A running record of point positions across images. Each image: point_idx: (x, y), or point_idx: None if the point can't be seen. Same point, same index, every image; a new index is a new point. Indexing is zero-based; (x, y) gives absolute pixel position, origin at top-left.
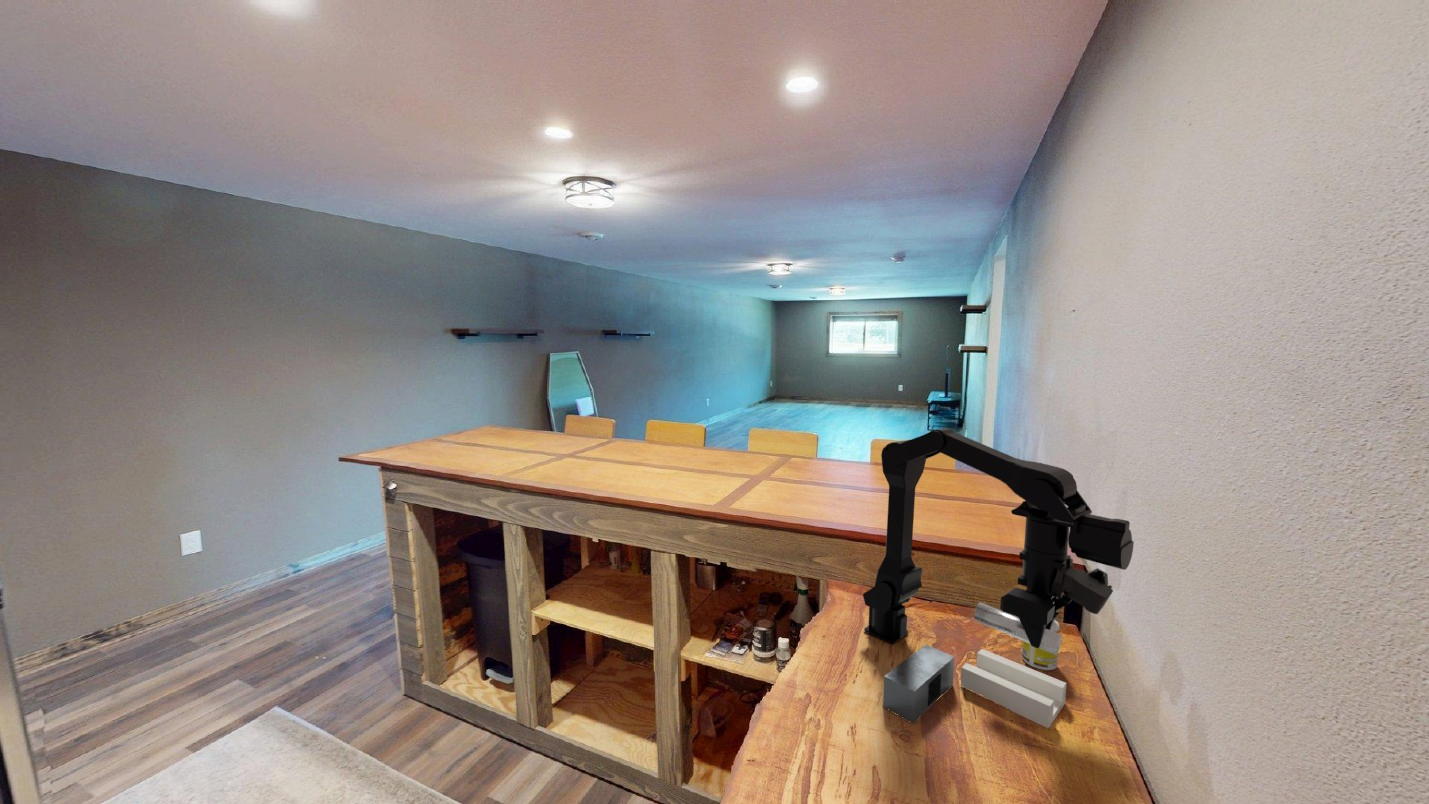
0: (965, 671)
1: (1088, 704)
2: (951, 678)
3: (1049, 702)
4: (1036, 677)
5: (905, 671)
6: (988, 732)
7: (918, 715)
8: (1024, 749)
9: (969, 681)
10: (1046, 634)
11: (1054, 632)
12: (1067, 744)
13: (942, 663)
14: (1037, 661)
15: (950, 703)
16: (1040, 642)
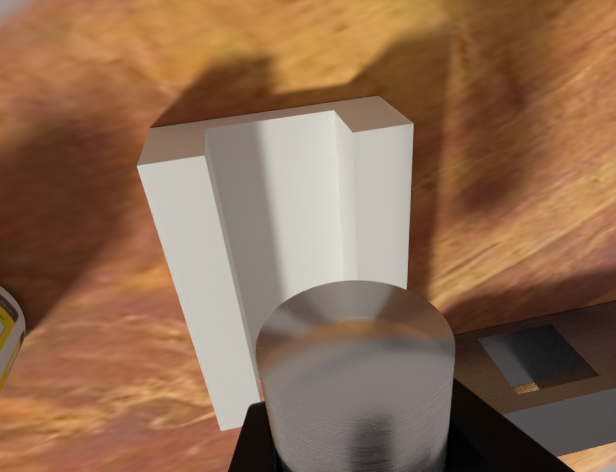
0: None
1: (42, 63)
2: None
3: (382, 138)
4: (227, 254)
5: (612, 426)
6: (536, 193)
7: (596, 311)
8: (550, 93)
9: None
10: (437, 451)
11: (369, 454)
12: (421, 7)
13: None
14: (4, 318)
15: (475, 308)
16: (481, 398)
